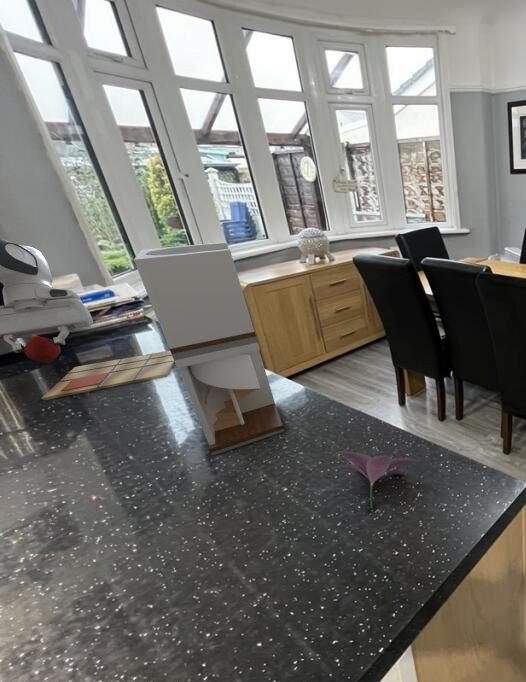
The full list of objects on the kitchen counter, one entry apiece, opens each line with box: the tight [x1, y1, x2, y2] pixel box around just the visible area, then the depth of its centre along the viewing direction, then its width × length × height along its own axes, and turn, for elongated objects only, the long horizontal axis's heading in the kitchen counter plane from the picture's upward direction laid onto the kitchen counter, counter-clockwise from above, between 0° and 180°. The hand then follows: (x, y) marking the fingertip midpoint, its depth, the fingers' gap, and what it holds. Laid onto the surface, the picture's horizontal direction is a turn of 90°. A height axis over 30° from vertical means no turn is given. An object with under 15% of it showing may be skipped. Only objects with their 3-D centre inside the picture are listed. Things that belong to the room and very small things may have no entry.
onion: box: [23, 335, 61, 364], centre depth 100 cm, size 6×6×8 cm
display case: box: [133, 241, 285, 456], centre depth 69 cm, size 11×11×35 cm
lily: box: [331, 450, 421, 509], centre depth 59 cm, size 12×12×10 cm
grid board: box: [41, 350, 175, 401], centre depth 100 cm, size 22×18×2 cm
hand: (40, 347), depth 99 cm, fingers closed on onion, 5 cm apart
